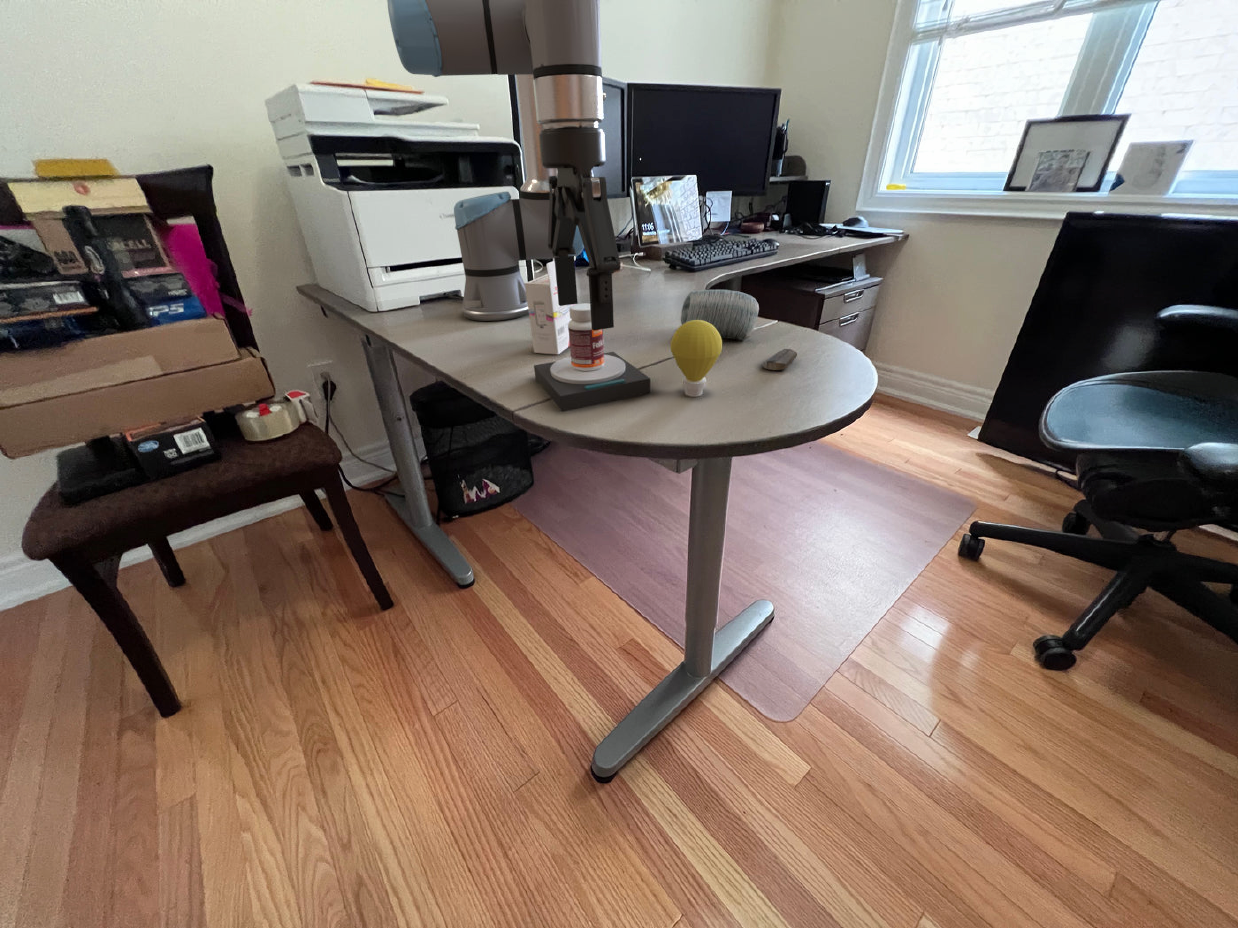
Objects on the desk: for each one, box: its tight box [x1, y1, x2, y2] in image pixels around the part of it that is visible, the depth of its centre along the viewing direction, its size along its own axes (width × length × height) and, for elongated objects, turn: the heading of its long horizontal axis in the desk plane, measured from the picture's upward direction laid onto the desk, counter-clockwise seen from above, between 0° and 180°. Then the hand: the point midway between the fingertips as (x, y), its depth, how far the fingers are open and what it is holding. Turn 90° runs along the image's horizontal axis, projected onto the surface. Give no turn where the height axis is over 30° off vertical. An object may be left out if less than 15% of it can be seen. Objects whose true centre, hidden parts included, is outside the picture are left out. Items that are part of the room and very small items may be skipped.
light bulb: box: [670, 320, 723, 398], centre depth 65 cm, size 7×7×10 cm
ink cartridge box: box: [524, 260, 576, 356], centre depth 84 cm, size 9×5×15 cm, turn 160°
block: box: [763, 348, 798, 371], centre depth 76 cm, size 4×6×2 cm, turn 144°
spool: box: [680, 289, 760, 341], centre depth 88 cm, size 14×10×10 cm
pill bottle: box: [568, 302, 605, 371], centre depth 68 cm, size 5×5×8 cm
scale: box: [533, 351, 651, 412], centre depth 71 cm, size 13×13×3 cm
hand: (584, 315), depth 67 cm, fingers open, 13 cm apart
